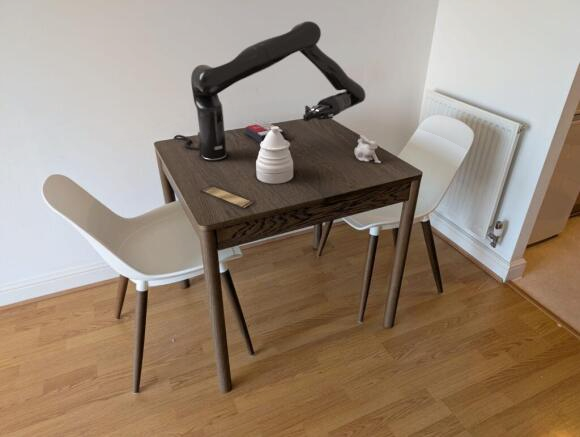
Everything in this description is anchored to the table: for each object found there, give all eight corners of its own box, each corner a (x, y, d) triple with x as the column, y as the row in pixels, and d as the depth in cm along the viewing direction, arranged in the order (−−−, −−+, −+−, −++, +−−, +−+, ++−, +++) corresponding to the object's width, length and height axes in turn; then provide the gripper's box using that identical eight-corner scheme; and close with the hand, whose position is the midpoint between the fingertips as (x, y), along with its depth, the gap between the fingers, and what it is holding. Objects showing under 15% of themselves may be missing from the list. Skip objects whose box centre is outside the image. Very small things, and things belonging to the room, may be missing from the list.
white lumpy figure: (381, 162, 158) (385, 138, 153) (366, 167, 155) (369, 142, 150) (360, 152, 167) (363, 128, 162) (345, 156, 163) (347, 132, 158)
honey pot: (296, 181, 145) (297, 130, 135) (259, 185, 142) (257, 133, 133) (289, 166, 155) (289, 118, 146) (254, 169, 153) (251, 120, 144)
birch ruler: (203, 191, 139) (203, 190, 138) (212, 186, 141) (212, 186, 141) (244, 208, 129) (244, 207, 129) (253, 203, 132) (252, 202, 132)
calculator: (267, 121, 187) (284, 129, 176) (268, 130, 189) (285, 139, 178) (245, 125, 182) (261, 134, 171) (245, 135, 185) (261, 144, 173)
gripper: (317, 93, 166) (290, 104, 154) (346, 99, 159) (320, 111, 147) (316, 112, 170) (290, 124, 158) (345, 119, 163) (320, 131, 151)
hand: (305, 118), depth 153 cm, fingers closed
